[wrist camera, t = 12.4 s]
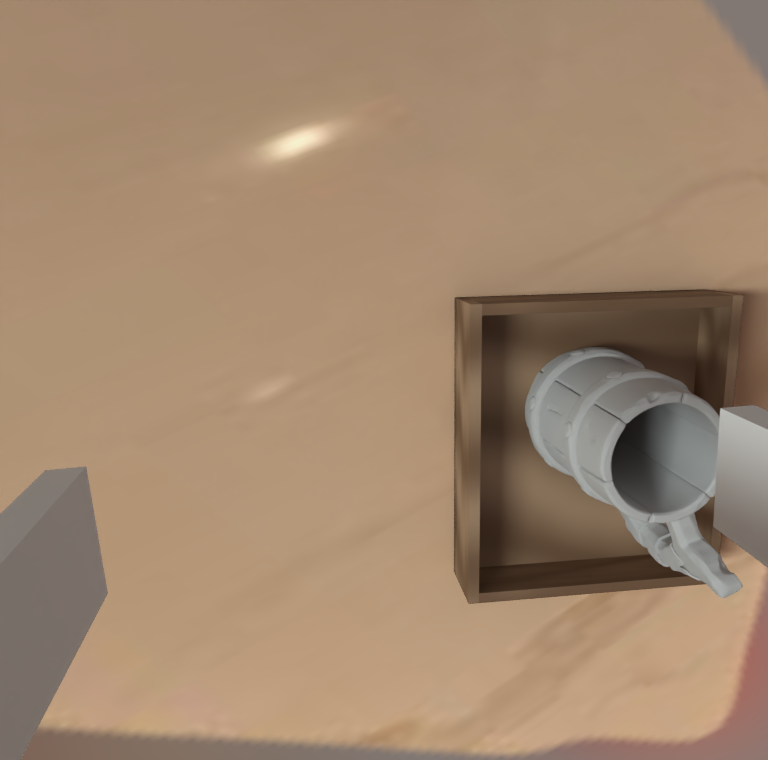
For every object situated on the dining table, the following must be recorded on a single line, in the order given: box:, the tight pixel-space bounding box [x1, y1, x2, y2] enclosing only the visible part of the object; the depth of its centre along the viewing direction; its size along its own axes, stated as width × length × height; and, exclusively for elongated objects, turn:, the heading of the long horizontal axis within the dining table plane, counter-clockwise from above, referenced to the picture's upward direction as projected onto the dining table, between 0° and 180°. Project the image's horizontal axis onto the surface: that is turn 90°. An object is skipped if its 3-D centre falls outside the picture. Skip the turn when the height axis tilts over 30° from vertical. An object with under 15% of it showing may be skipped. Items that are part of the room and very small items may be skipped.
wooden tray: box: [454, 290, 744, 604], centre depth 40 cm, size 17×15×4 cm
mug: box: [525, 347, 742, 598], centre depth 35 cm, size 8×12×12 cm, turn 24°
